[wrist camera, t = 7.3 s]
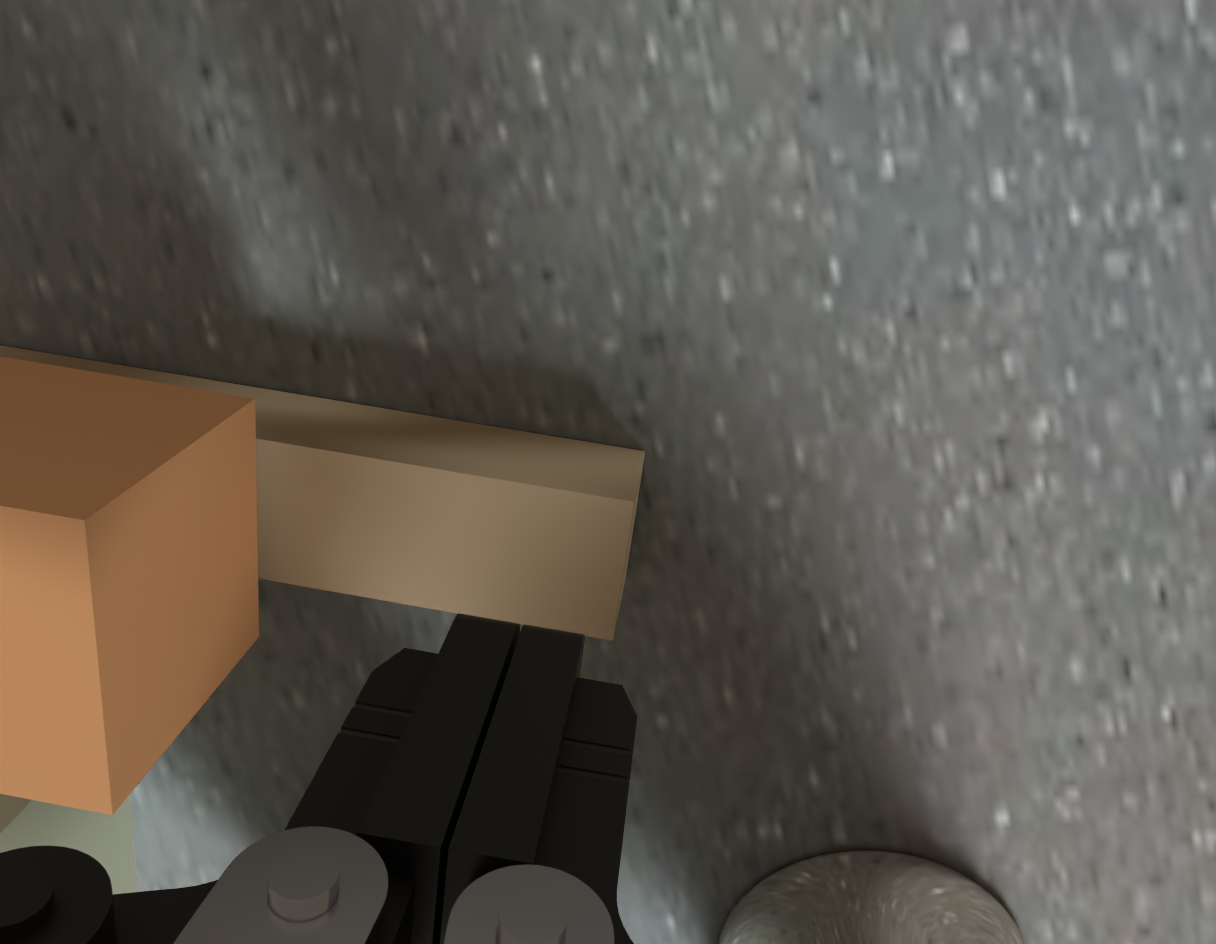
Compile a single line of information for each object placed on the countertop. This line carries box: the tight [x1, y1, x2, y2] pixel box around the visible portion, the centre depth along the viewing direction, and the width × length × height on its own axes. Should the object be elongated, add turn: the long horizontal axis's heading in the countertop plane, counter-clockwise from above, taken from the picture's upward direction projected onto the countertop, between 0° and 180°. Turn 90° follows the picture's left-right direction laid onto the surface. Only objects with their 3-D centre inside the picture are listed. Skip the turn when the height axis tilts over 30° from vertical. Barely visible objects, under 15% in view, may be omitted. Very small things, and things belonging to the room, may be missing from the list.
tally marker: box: [0, 357, 259, 815], centre depth 13 cm, size 4×4×4 cm
